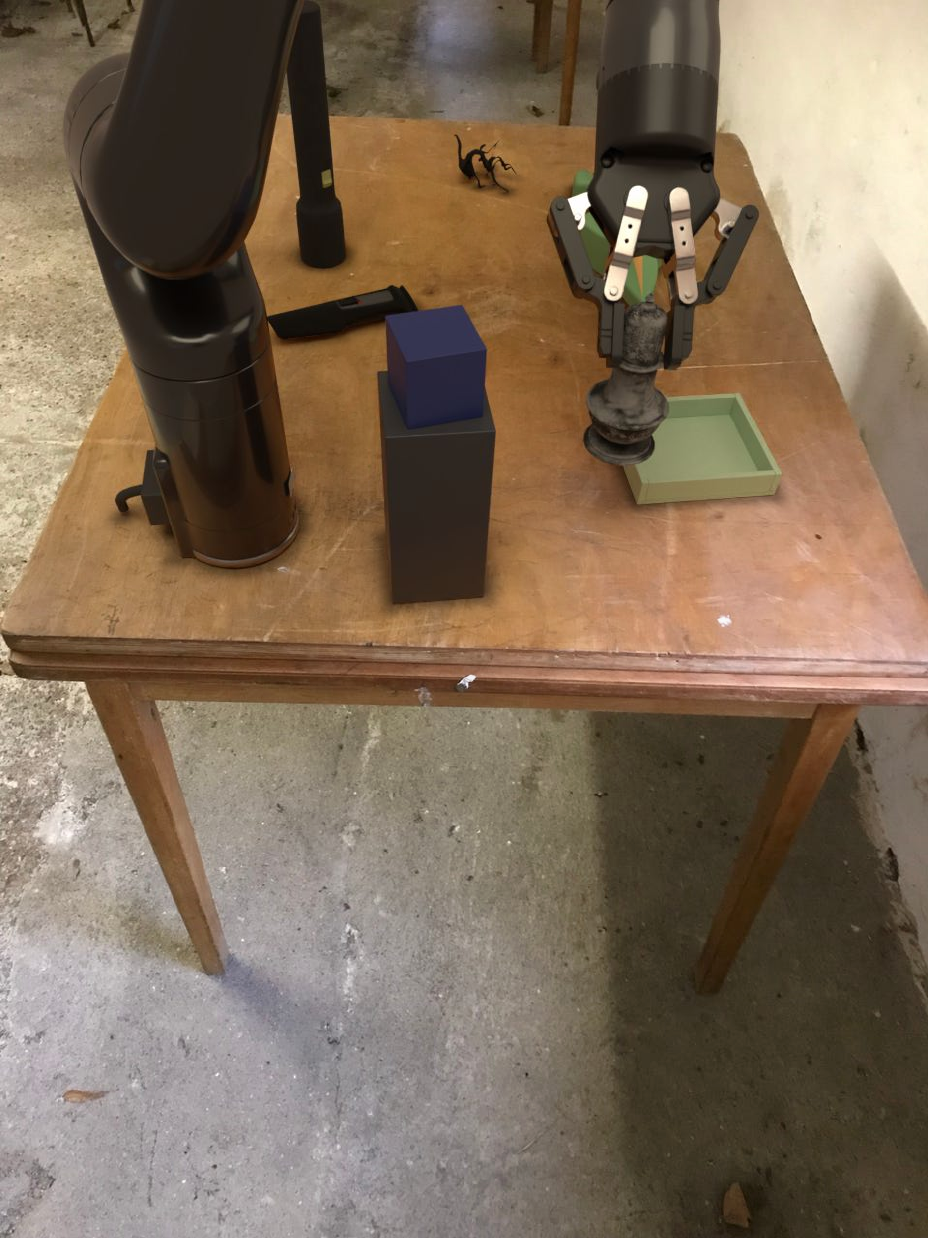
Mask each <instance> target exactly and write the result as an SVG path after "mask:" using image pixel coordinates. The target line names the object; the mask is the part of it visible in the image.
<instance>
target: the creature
mask: <svg viewBox="0 0 928 1238" xmlns="http://www.w3.org/2000/svg"><path fill="white" fill-rule="evenodd" d="M453 137H455V138H456V141H457V144H458V147H457V155H458V168H459V170H460V172H461V173H462V174H463V175H464V176H465V177H467V179H468V180H469V181H470V180H471V178H473V177H475V179H476V181H477V187H478V189H482V188H484V187H488V185H485V184H483V185H481V180H480V179H479V177H478V176H477V174H478V173H480V172H479V171H475V168H474V164H473V157H474V156H475V155H477V156H480V158H478V159H477V162H482V165H483V168H484V169H485V170H486V172H487V173H482V172H481V174H482V175H484V176H487V177H488V176H489V173H490V176H491V180H492V182H493V183H492V185H491V187H492V186H496V187H499V188H500V189H502V190H504V191H505V192H510V190H509V189H507V188H505V187H503V186H502V185H500V184H499V183H498V181H497V180H496V177H495V172H494V169H495V166H496V164H497V163H498V162H500V165H501V167H502V168H503V170H504V171H509V170H510V169H511V170H512V172H513V173H514V174H515V175H517V172H516V171H515V169H514V167H513V166H512V165H511V164H510V163H505V161H504V160H503V159H502V157H501V156H499V155H498V156H493V154H494V151H495V149H496V146H497V145H498V143H499V141H496V143H494V145H492V146H491V147H490V149H489V150H488V151H484V150H483V149H484V148H485V147H486V145H487V144H486V143H483V144H481V145H480V146H479V149H478V148H475V149H472V150H470V151H469V152H468V153H466V155H465V158H463V157H462V147H463V145H462V141H461V139H460V136H459V135H458V134H454V135H453ZM492 149H493V152H492V154H491V156H490V157H489V158H487V157H486V155H487V154H489V153H490V151H491V150H492ZM496 159H497V160H496ZM495 160H496V161H495ZM494 161H495V162H494ZM493 162H494V164H493Z"/></svg>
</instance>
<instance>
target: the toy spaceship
mask: <svg viewBox="0 0 928 1238" xmlns="http://www.w3.org/2000/svg"><path fill="white" fill-rule="evenodd" d="M593 175H594V173H591V172H590V171H589V170H587V169H585V168H581V169H579V170H577V172H576V173H575V175H574V178H573V184H572V191H571V198H572V197H575V196H577V195H580V194H582V193H585V192H586V190H587V188H588V186H589V183H590V182H591V180H592V178H593ZM580 235H581V237H582V240H583V243H584V246H585V249H586V252H587V255H588V258H589V260H590V263H591V266H592V269H593V271H595V272H597V273H598V274H599V275H601V276H602V277H603V276H604V268H605V264H606V260H607V256H608V252H609V247H610V244H609V242H608V241H607V239H606V238H605V236H604V234H603V233H602V231H601V230H600V228H599V226H598V225H597V223H596V222H595V220H594V219H593V217H592V215H591V214H590V212H589V211H588V212H586V213H585V225H584V227H583V230H582V231H581V233H580ZM660 268H662V261H661V259H656V258H653V257H650V256H647V255H644V256H640V257H635V258H632V261H631V264H630V267H629V270H628V274H627V278H626V282H625V286H624V291H623V294H622V297H621V298H623V300H624V301H625V303H627V305H628V306H629V307H630V306H631V305H633V304H635V303H638V302H646V300H645V297H646V296H647V295H648V294H650V293H652V294H653V295H655V290H656V287H657V286H656V285H657V280H658V274H659V269H660Z"/></svg>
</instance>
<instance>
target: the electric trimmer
mask: <svg viewBox="0 0 928 1238" xmlns="http://www.w3.org/2000/svg"><path fill="white" fill-rule="evenodd" d="M415 311H419V308H418V307H417V305H416V303H415V301H414V299H413V298H412V296H411V294H410V293H409V292H408V290H407V289H406V288H405V286H404V285H403V284H401V285H400V286H399V287H398V286H396V285H394V284H389V285H388V286H387V287H386V288H382V289H376V290H373V291H369V292H365V293H360V294H359V293H358V294H356V295H351V296H347V297H342V298H338V299H333V300H329V301H325V302H322V303H318V304H314V305H308V306H305V307H300V308H297V309H292V310H287V311H284V312H278V313H275V314H270V315H267V319H268V325H270V327H271V329H272V331H273V332H274V334H275V335H276V336H277V338H278V339H280V340H291V339H301V338H310V337H319V336H326V335H333V334H340V333H342V332H343V331H344V330H345V329H346V328H347V327H351V326H356V325H360V324H361V325H362V324H366V323H371V322H377V321H381V320H385V316H388V315H394V314H401V313H408V312H415Z"/></svg>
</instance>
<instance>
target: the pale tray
mask: <svg viewBox="0 0 928 1238" xmlns="http://www.w3.org/2000/svg"><path fill="white" fill-rule="evenodd" d="M665 397H666V398H667V401H668V403H669V412H668V415H667V417H666V419H665V420H663V421H662V422H661V423H660V425H659V427H658V428H657V429H656V430H655V432H654V433H653V434H652V436H653V438H654V441H655V449H654V452H653V454H652V455H651V456H650V457H649V458H648V459H647V460H646V461H644V462H642V463H640V464H636V465H631V466H622V468H623V470H624V473H625V476H626V478H627V481H628V483H629V487H630V489H631V492H632V495H633V498H634V500H635V503H636V505H650V504H665V503H676V502H677V503H678V502H679V503H680V502H691V501H707V500H708V501H709V500H721V499H722V500H723V499H735V498H750V497H765V496H774V495H775V494H776V491H777V489H778V486H779V484H780V481H781V479H782V476H783V472H782V470H781V469H780V467H779V465H778V463H777V461H776V459H775V457H774V455H773V454H772V451H771V450H770V447H769V446H768V444H767V442H766V440H765V438H764V437H763V435H762V432H761V431H760V429H759V427H758V426H757V424H756V422H755V419H754V417H753V416H752V414H751V412H750V410H749V409H748V406H747V404H746V403H745V400H744V399H743V397H742V395H741V393H740V392H734V393H732V392H731V393H715V394H697V395H680V396H679V395H677V396H665Z"/></svg>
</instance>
